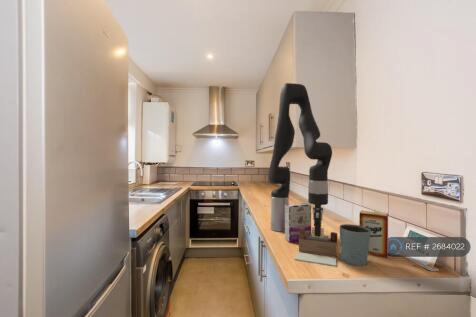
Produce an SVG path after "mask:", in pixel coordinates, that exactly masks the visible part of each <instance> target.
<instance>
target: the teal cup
mask: <svg viewBox="0 0 476 317" xmlns="http://www.w3.org/2000/svg"><path fill="white" fill-rule="evenodd" d="M370 233H371V231H370V229H368V228H366V227H363V226H359V225H357V224H340V226H339V238H340V259H341V261H342V262H343V263H344V264H347V265H352V266H355V267H364V266H367V264H368V260H369V259H368V258H369V254H368V249H369V239H370Z"/></svg>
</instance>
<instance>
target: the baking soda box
mask: <svg viewBox="0 0 476 317" xmlns="http://www.w3.org/2000/svg"><path fill="white" fill-rule="evenodd" d="M359 226H363V227H366V228H368V229H370V231H371V233H370V239H369V249H368V255H372V256H376V257H382V258H388V256H389V213H388V212H381V211H373V210H372V211H370V210H361V211H360V212H359Z"/></svg>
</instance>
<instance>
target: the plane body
mask: <svg viewBox="0 0 476 317" xmlns="http://www.w3.org/2000/svg"><path fill="white" fill-rule="evenodd" d="M337 242H338V233H337V232H335V231H330V237H328V242H325V241H317V240H309V239H307V235H305V226H302V225H301V227H300V237H299V242H298V252H300V253H307V254H314V255H321V256H328V257H335V258H337V257H338V243H337Z"/></svg>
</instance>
